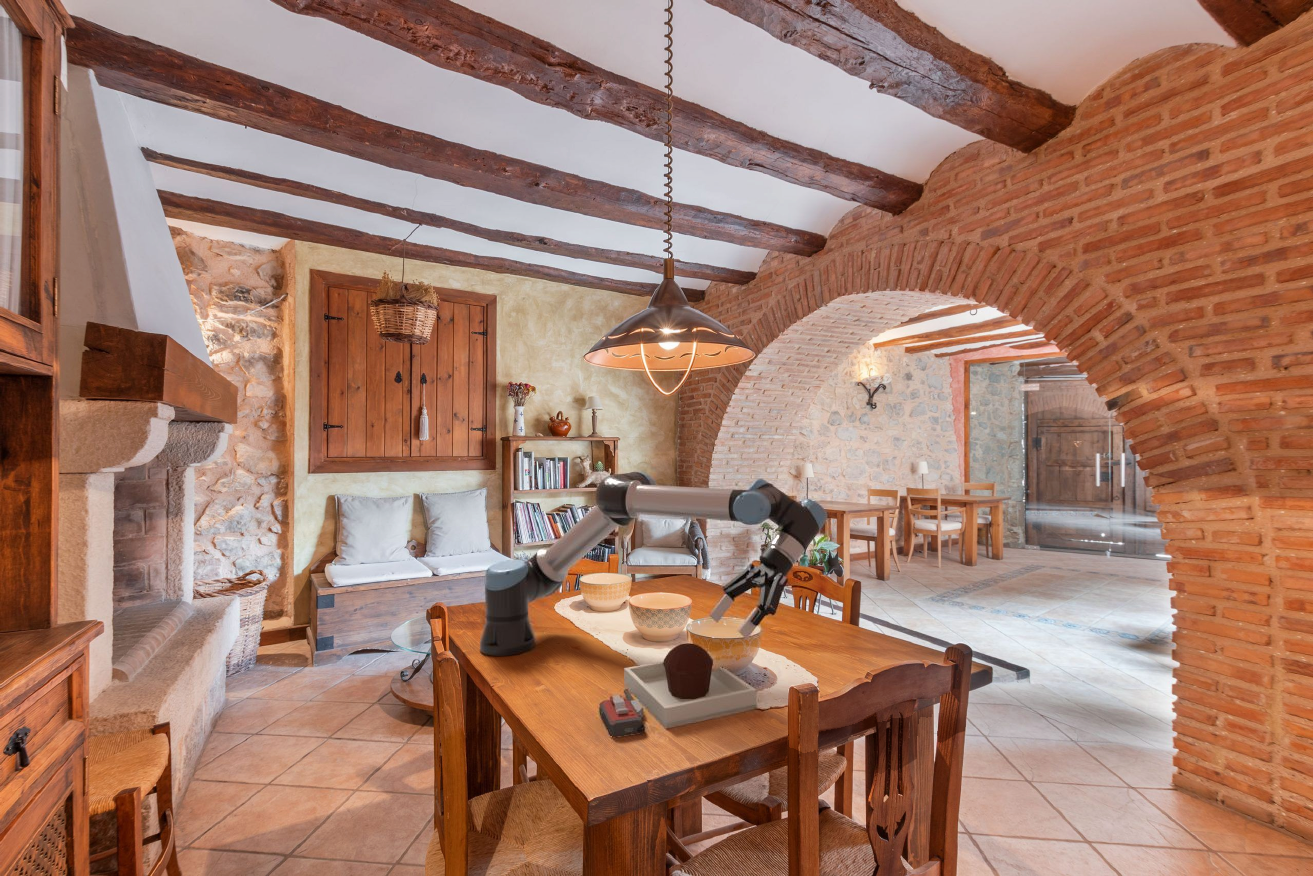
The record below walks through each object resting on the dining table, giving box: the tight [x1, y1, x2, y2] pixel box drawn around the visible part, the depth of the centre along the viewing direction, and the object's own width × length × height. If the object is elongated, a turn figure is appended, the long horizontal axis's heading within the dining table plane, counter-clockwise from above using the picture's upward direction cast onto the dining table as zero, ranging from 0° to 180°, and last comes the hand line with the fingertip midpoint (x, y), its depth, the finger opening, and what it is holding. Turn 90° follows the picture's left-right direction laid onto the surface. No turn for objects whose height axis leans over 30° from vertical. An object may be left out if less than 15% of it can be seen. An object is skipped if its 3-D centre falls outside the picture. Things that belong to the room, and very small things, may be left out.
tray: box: [623, 661, 758, 729], centre depth 135 cm, size 24×21×4 cm
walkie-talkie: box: [598, 688, 646, 738], centre depth 126 cm, size 9×4×20 cm
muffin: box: [662, 642, 714, 699], centre depth 135 cm, size 12×11×10 cm
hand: (726, 626), depth 139 cm, fingers open, 13 cm apart
